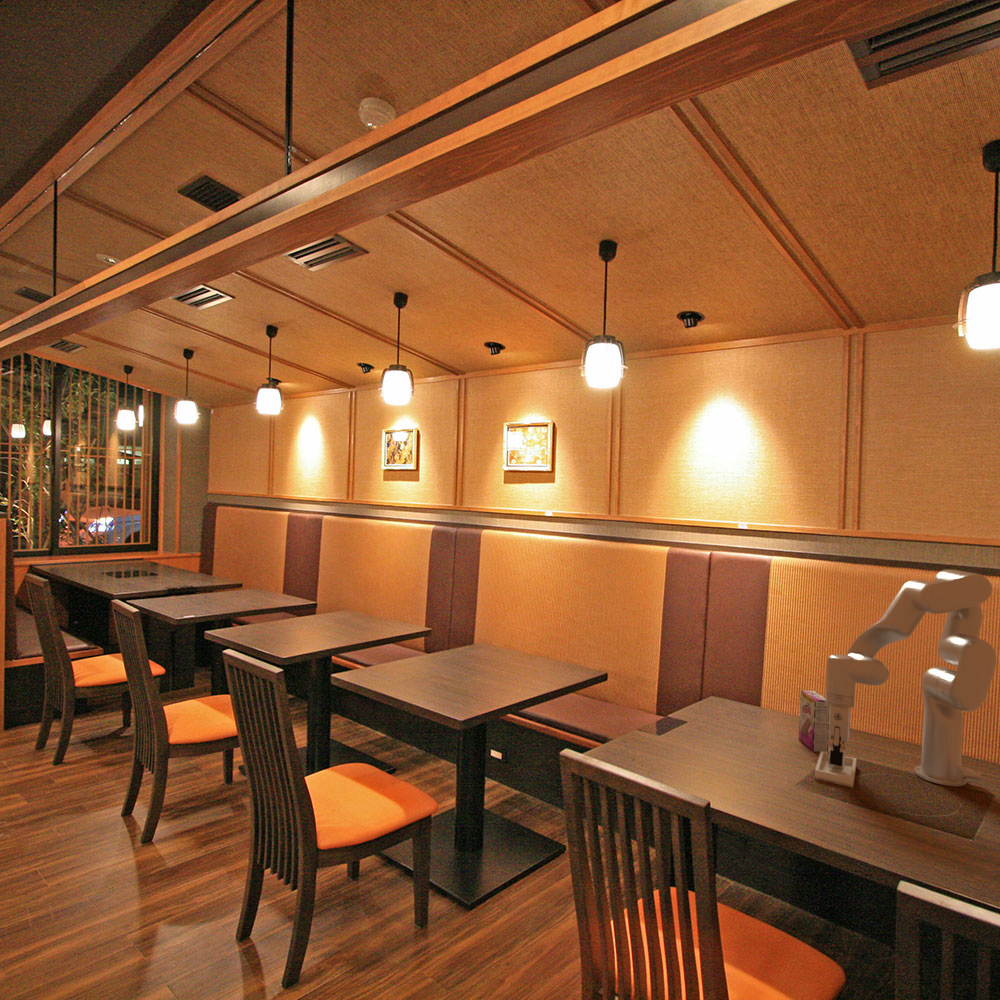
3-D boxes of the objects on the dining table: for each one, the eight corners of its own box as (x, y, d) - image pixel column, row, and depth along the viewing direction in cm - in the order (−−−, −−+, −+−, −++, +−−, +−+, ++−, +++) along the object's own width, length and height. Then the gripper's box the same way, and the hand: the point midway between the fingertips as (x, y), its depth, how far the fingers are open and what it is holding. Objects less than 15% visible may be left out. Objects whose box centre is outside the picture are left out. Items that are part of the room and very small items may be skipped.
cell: (844, 767, 196) (845, 739, 196) (843, 771, 192) (845, 743, 192) (828, 763, 198) (830, 736, 198) (827, 768, 194) (829, 740, 194)
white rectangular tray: (856, 766, 200) (856, 758, 200) (853, 787, 185) (853, 778, 185) (820, 759, 205) (820, 751, 205) (814, 778, 190) (815, 769, 190)
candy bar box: (797, 739, 222) (799, 689, 222) (812, 740, 222) (815, 690, 222) (812, 752, 211) (815, 699, 211) (828, 753, 211) (831, 700, 211)
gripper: (852, 708, 186) (849, 775, 186) (855, 694, 200) (852, 756, 201) (822, 703, 190) (819, 768, 190) (827, 689, 204) (824, 750, 204)
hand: (836, 761), depth 195 cm, fingers closed on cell, 4 cm apart
